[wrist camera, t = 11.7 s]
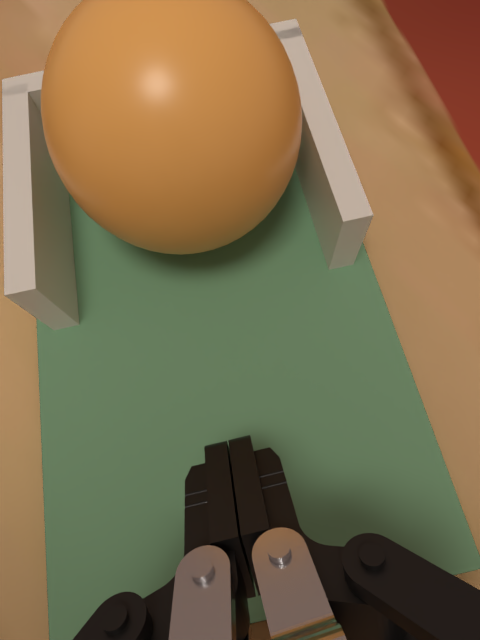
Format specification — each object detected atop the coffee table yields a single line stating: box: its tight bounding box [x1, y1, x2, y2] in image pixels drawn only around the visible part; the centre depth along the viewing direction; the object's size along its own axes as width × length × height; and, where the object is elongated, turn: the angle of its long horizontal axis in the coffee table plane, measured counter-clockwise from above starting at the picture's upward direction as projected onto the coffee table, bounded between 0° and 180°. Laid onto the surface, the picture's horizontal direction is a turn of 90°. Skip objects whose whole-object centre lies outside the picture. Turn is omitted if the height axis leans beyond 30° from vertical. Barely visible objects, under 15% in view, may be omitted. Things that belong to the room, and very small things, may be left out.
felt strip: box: [37, 168, 480, 640], centre depth 20 cm, size 26×16×1 cm, turn 12°
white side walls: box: [2, 19, 373, 330], centre depth 20 cm, size 12×14×4 cm
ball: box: [41, 0, 302, 255], centre depth 17 cm, size 10×10×10 cm
